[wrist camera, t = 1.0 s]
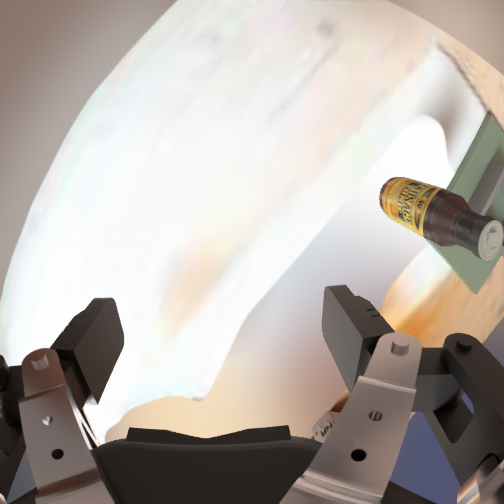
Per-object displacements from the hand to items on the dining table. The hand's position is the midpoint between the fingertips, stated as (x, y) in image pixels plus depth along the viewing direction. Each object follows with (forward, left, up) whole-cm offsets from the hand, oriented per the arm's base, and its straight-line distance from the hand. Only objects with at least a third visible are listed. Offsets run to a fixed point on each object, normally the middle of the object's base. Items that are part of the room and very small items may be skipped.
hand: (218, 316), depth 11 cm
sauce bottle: (-14, +19, -29) cm, 37 cm away
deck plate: (-26, +36, -28) cm, 53 cm away
